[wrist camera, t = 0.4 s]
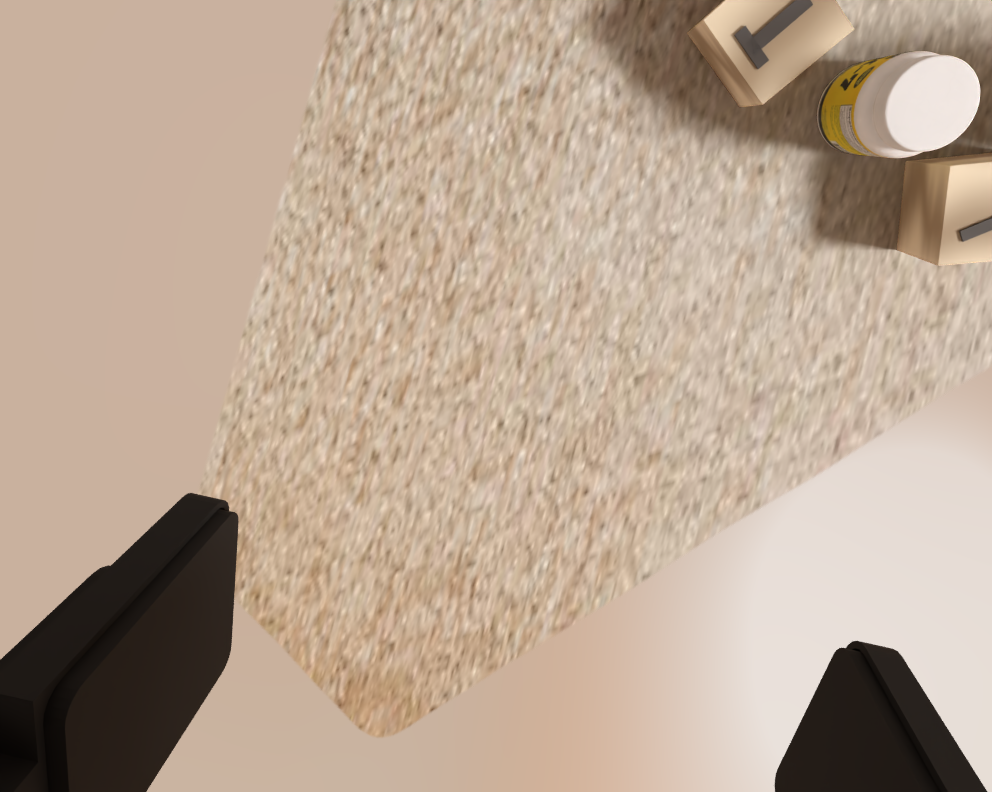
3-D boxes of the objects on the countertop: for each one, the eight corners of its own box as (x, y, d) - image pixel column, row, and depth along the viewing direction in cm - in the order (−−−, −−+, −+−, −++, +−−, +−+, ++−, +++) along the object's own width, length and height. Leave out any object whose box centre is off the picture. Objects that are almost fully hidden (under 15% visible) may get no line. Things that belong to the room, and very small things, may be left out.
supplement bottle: (893, 45, 37) (981, 23, 29) (914, 131, 38) (1003, 132, 30) (803, 86, 38) (864, 76, 30) (826, 168, 39) (890, 178, 32)
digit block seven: (905, 161, 39) (952, 166, 34) (1000, 151, 38) (1062, 155, 33) (896, 249, 41) (939, 266, 36) (987, 241, 40) (1043, 257, 35)
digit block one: (686, 33, 38) (704, 19, 33) (765, -39, 36) (796, -64, 31) (739, 107, 39) (763, 104, 34) (818, 41, 37) (855, 28, 32)
